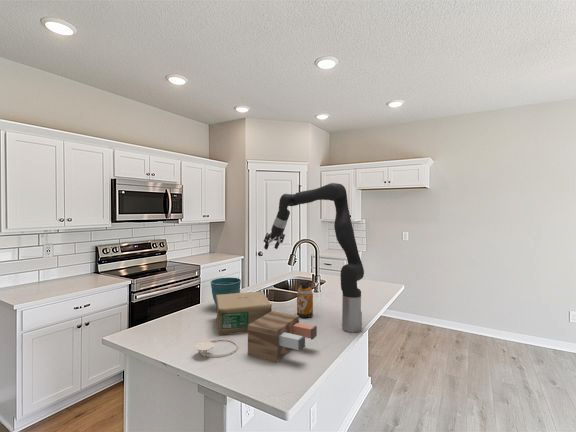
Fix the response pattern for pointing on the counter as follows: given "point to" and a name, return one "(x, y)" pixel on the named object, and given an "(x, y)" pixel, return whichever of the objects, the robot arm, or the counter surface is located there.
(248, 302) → the paper package
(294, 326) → the brick plug
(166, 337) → the counter surface
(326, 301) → the counter surface
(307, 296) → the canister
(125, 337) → the counter surface
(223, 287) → the flower pot
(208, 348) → the hand towel holder
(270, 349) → the socket block
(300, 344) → the grey plug
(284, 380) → the counter surface
